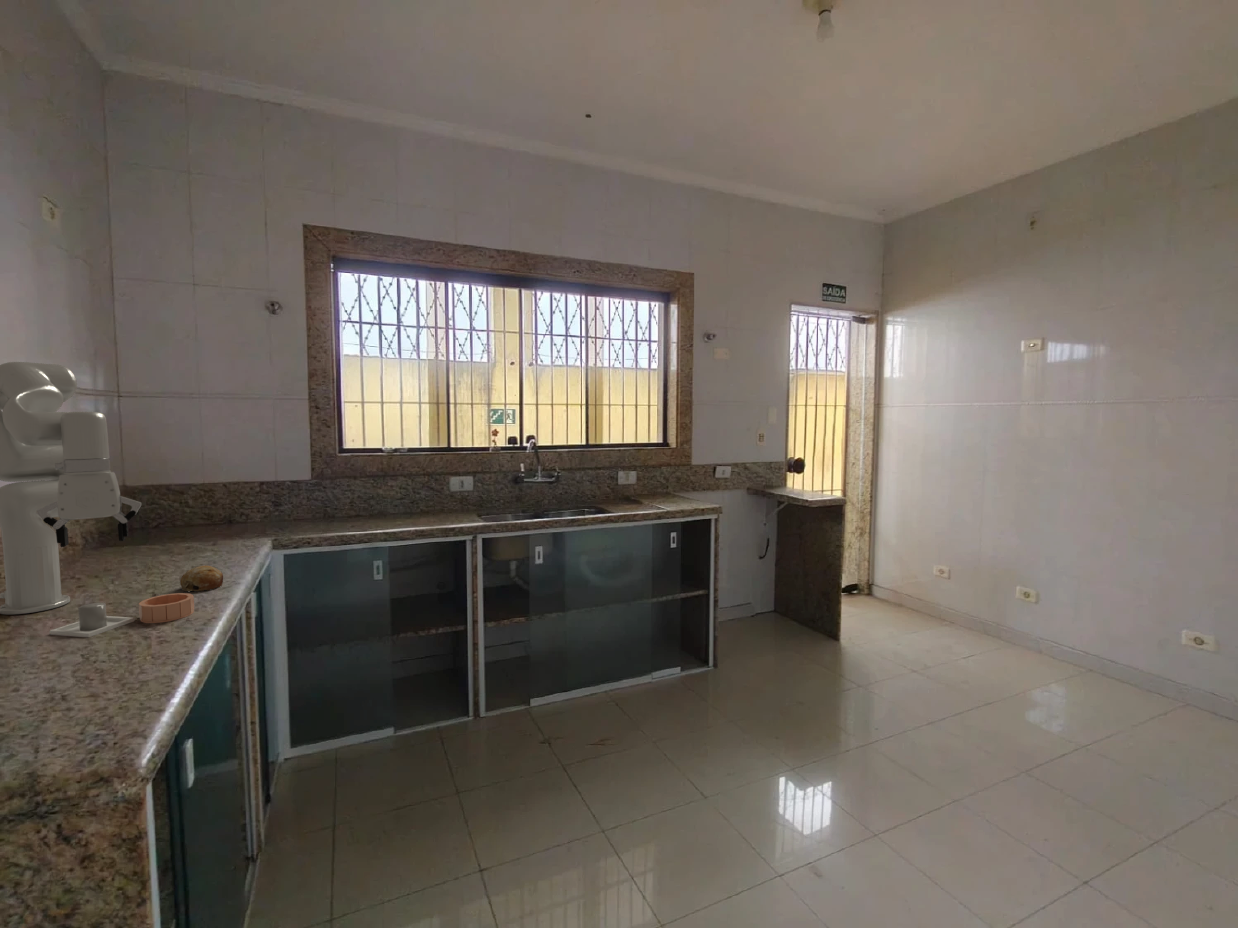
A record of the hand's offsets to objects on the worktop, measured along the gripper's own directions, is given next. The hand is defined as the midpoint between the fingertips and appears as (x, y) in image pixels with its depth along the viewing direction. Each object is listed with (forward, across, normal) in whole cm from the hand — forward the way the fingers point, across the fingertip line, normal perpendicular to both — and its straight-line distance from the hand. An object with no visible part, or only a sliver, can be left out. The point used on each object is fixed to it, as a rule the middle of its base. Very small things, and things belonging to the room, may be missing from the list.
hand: (94, 542), depth 127 cm
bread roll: (+19, +17, +27) cm, 37 cm away
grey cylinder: (+19, -1, 0) cm, 19 cm away
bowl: (+20, +12, +1) cm, 23 cm away
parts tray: (+20, -1, 0) cm, 20 cm away
